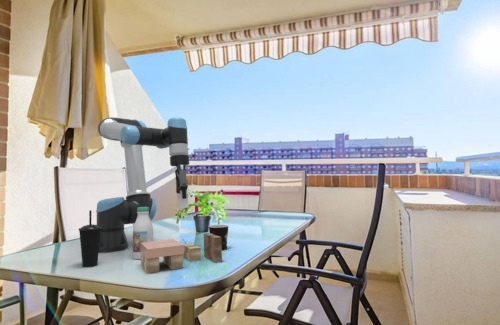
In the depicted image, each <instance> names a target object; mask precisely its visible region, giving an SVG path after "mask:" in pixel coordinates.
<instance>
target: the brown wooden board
mask: <svg viewBox="0 0 500 325" xmlns="http://www.w3.org/2000/svg"><path fill="white" fill-rule="evenodd" d="M203 251H204V252H203V254H204V258H206V259H208V260H209V261H212V262H213V263H215V264H218V263H222V261H223V255H222V254H223V250H222V241H221V237H220V236H217V235H214V234H211V233H210V232H208V233H207V232H206V233H203Z"/></svg>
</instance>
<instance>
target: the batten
mask: <svg viewBox="0 0 500 325" xmlns="http://www.w3.org/2000/svg"><path fill="white" fill-rule="evenodd" d="M182 244H183V245H184V254H183V258H184V257H185V259H186V260H187V261H189V262H196V261H201V260H202V247H200V246H198V245H196V244H194V243H192V242H190V243H182Z"/></svg>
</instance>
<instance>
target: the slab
mask: <svg viewBox="0 0 500 325" xmlns="http://www.w3.org/2000/svg"><path fill="white" fill-rule="evenodd" d="M183 244H184V243H181V242H179V241H178V240H176V239H174V238H171V239H170V238H169V239H160V240H153V241H151V242H141V243H140V251H141V252H142V253H143V254H144V255H145V256H146V257H147V259H149V258H157V257H159V258H162V257H163V258H164V256H172V255H179V254H184V245H183Z"/></svg>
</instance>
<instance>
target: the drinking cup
mask: <svg viewBox="0 0 500 325" xmlns="http://www.w3.org/2000/svg"><path fill="white" fill-rule="evenodd" d="M88 211H89V213H88V215H89V219H88V223H89V224H85V225H83V226H81V227H79V228H78V231H79V240H80V252H81V253H80V254H81V263H82V267H83V268H92V267H96V266H98V264H99V254H100V252H99V244H100V234H101V229H102V227H100V226H98V225H97V224H93V223H92V210H88Z"/></svg>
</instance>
